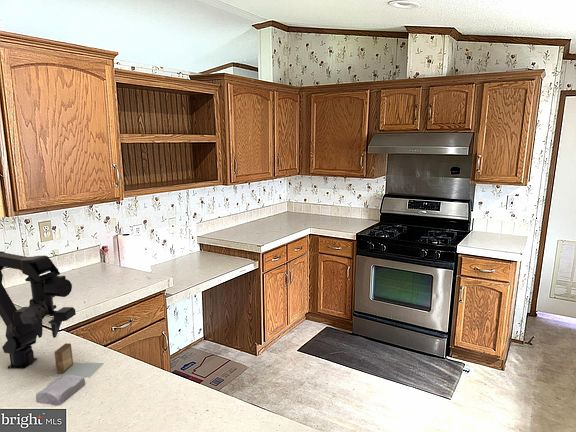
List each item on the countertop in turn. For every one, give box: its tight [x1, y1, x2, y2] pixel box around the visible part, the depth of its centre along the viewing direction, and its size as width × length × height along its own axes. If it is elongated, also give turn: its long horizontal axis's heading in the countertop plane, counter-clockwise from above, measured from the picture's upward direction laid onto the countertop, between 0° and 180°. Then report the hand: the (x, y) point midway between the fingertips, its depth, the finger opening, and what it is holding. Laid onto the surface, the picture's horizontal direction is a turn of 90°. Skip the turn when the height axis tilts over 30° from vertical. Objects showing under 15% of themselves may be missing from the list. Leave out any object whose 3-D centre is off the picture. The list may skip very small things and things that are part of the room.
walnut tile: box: [53, 343, 74, 374], centre depth 139 cm, size 2×6×8 cm, turn 176°
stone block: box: [35, 375, 86, 406], centre depth 126 cm, size 12×5×10 cm
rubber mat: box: [47, 361, 105, 378], centre depth 139 cm, size 15×9×1 cm, turn 86°
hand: (47, 337), depth 138 cm, fingers open, 5 cm apart
